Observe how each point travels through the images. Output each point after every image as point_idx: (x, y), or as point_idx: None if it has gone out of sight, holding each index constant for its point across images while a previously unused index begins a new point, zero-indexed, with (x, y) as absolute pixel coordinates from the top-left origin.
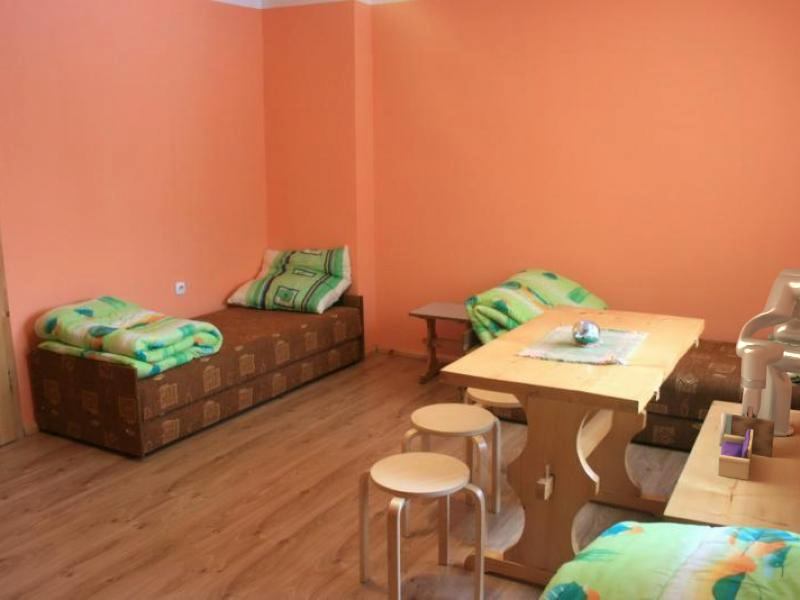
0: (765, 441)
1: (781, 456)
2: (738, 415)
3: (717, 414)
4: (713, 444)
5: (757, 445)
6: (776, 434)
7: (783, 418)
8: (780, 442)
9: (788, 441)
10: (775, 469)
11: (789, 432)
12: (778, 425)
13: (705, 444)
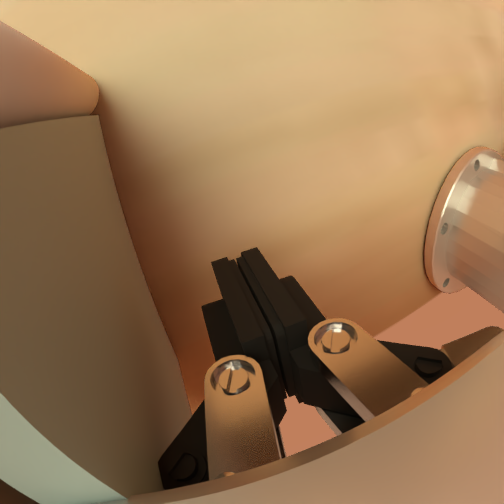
0: None
1: (189, 393)
2: (57, 470)
3: (500, 4)
4: (60, 39)
5: None
6: (428, 265)
7: (494, 304)
8: (367, 305)
9: (389, 315)
10: None
11: (448, 291)
12: (468, 277)
13: (26, 9)
